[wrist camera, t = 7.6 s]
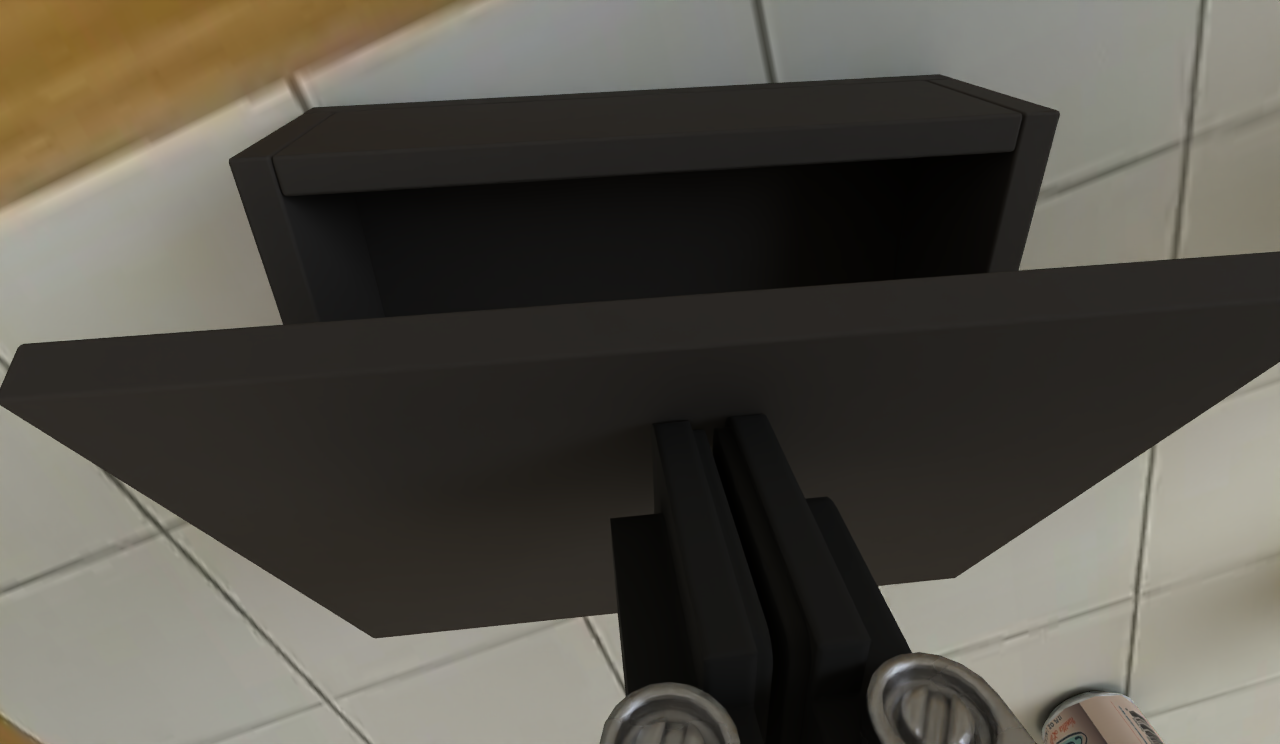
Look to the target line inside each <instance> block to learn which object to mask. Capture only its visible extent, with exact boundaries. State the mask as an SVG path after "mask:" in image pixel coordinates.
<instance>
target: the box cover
mask: <svg viewBox="0 0 1280 744" xmlns="http://www.w3.org/2000/svg"><path fill="white" fill-rule="evenodd" d="M1279 362H1280V252H1267V253H1253V254H1240V255H1226V256H1213V257H1199V258H1185V259H1172V260H1158V261H1145V262H1131V263H1117V264H1104V265H1090V266H1077V267H1063V268H1049V269H1036V270H1022V271H1009V272H995V273H981V274H968V275H954V276H941V277H927V278H914V279H900V280H886V281H873V282H859V283H846V284H832V285H818V286H805V287H791V288H778V289H764V290H750V291H737V292H723V293H710V294H696V295H682V296H669V297H655V298H642V299H628V300H614V301H601V302H587V303H574V304H560V305H546V306H533V307H519V308H506V309H492V310H478V311H465V312H451V313H438V314H424V315H410V316H397V317H383V318H370V319H356V320H342V321H329V322H315V323H302V324H288V325H275V326H261V327H247V328H234V329H220V330H207V331H193V332H179V333H166V334H152V335H139V336H125V337H111V338H98V339H84V340H71V341H57V342H43V343H30V344H23V345H20V346H19V347H18V349H17V351H16V353H15V355H14V358H13V360H12V362H11V365H10V367H9V369H8V372H7V374H6V376H5V378H4V381H3V383H2V385H1V388H0V405H1V406H2V407H4V408H6V409H7V410H9V411H11V412H12V413H14V414H15V415H17V416H19V417H20V418H22V419H23V420H25V421H27V422H28V423H30V424H31V425H33V426H35V427H36V428H38V429H39V430H41V431H43V432H44V433H46V434H47V435H49V436H51V437H52V438H54V439H55V440H57V441H59V442H60V443H62V444H63V445H65V446H67V447H68V448H70V449H71V450H73V451H75V452H76V453H78V454H79V455H81V456H83V457H84V458H86V459H87V460H89V461H91V462H92V463H94V464H96V465H97V466H99V467H100V468H102V469H104V470H105V471H107V472H108V473H110V474H112V475H113V476H115V477H116V478H118V479H120V480H121V481H123V482H124V483H126V484H128V485H129V486H131V487H132V488H134V489H136V490H137V491H139V492H140V493H142V494H144V495H145V496H147V497H148V498H150V499H152V500H153V501H155V502H156V503H158V504H160V505H161V506H163V507H164V508H166V509H168V510H169V511H171V512H172V513H174V514H176V515H177V516H179V517H180V518H182V519H184V520H185V521H187V522H189V523H190V524H192V525H193V526H195V527H197V528H198V529H200V530H201V531H203V532H205V533H206V534H208V535H209V536H211V537H213V538H214V539H216V540H217V541H219V542H221V543H222V544H224V545H225V546H227V547H229V548H230V549H232V550H233V551H235V552H237V553H238V554H240V555H241V556H243V557H245V558H246V559H248V560H249V561H251V562H253V563H254V564H256V565H257V566H259V567H261V568H262V569H264V570H265V571H267V572H269V573H270V574H272V575H273V576H275V577H277V578H278V579H280V580H282V581H283V582H285V583H286V584H288V585H290V586H291V587H293V588H294V589H296V590H298V591H299V592H301V593H302V594H304V595H306V596H307V597H309V598H310V599H312V600H314V601H315V602H317V603H318V604H320V605H322V606H323V607H325V608H326V609H328V610H330V611H331V612H333V613H334V614H336V615H338V616H339V617H341V618H342V619H344V620H346V621H347V622H349V623H350V624H352V625H354V626H355V627H357V628H358V629H360V630H362V631H363V632H365V633H367V634H368V635H370V636H371V637H373V638H383V637H393V636H402V635H412V634H421V633H431V632H441V631H450V630H460V629H469V628H479V627H489V626H498V625H508V624H517V623H527V622H536V621H546V620H556V619H565V618H575V617H584V616H594V615H604V614H613V613H618V610H617V599H616V588H615V577H614V565H613V553H612V540H611V527H610V518H619V517H629V516H639V515H649V514H654V489H653V459H652V424H659V423H670V422H681V421H689V422H690V425H691V428H692V430H700V429H704V430H705V432H706V435H707V438H708V442H709V445H710V448H711V451H712V454H713V432H714V429H715V428H722V427H725V424H726V420H727V418H728V417H736V416H746V415H757V414H764V415H766V416H767V418H768V420H769V422H770V424H771V426H772V428H773V431H774V433H775V435H776V437H777V439H778V441H779V444H780V446H781V448H782V450H783V452H784V454H785V456H786V459H787V461H788V463H789V465H790V467H791V469H792V471H793V474H794V476H795V478H796V480H797V482H798V484H799V486H800V489H801V491H802V493H803V495H804V497H805V499H807V498H816V497H826V496H827V497H829V498H830V499H831V500H832V501H833V502H834V504H835V505H836V507H837V509H838V511H839V512H840V514H841V516H842V518H843V520H844V522H845V524H846V526H847V528H848V530H849V532H850V534H851V536H852V538H853V540H854V542H855V543H856V545H857V547H858V549H859V551H860V553H861V555H862V557H863V559H864V561H865V563H866V565H867V567H868V569H869V571H870V573H871V574H872V576H873V578H874V580H875V582H876V584H877V586H882V585H891V584H901V583H910V582H920V581H930V580H939V579H949V578H955V577H957V576H958V575H960V574H961V573H963V572H964V571H966V570H968V569H969V568H971V567H972V566H974V565H975V564H977V563H978V562H980V561H981V560H983V559H984V558H986V557H987V556H989V555H990V554H992V553H993V552H995V551H996V550H998V549H999V548H1001V547H1002V546H1004V545H1005V544H1007V543H1008V542H1010V541H1011V540H1013V539H1014V538H1016V537H1017V536H1019V535H1020V534H1022V533H1023V532H1025V531H1026V530H1028V529H1029V528H1031V527H1032V526H1034V525H1035V524H1037V523H1038V522H1040V521H1041V520H1043V519H1044V518H1046V517H1047V516H1049V515H1050V514H1052V513H1053V512H1055V511H1056V510H1058V509H1059V508H1061V507H1062V506H1064V505H1065V504H1067V503H1068V502H1070V501H1071V500H1073V499H1074V498H1076V497H1077V496H1079V495H1080V494H1082V493H1083V492H1085V491H1086V490H1088V489H1089V488H1091V487H1092V486H1094V485H1095V484H1097V483H1098V482H1100V481H1101V480H1103V479H1104V478H1106V477H1107V476H1109V475H1110V474H1112V473H1113V472H1115V471H1116V470H1118V469H1119V468H1121V467H1122V466H1124V465H1125V464H1127V463H1128V462H1130V461H1131V460H1133V459H1134V458H1136V457H1137V456H1139V455H1140V454H1142V453H1143V452H1145V451H1146V450H1148V449H1149V448H1151V447H1152V446H1154V445H1155V444H1157V443H1158V442H1160V441H1161V440H1163V439H1164V438H1166V437H1167V436H1169V435H1170V434H1172V433H1173V432H1175V431H1176V430H1178V429H1180V428H1181V427H1183V426H1184V425H1186V424H1187V423H1189V422H1190V421H1192V420H1193V419H1195V418H1196V417H1198V416H1199V415H1201V414H1202V413H1204V412H1205V411H1207V410H1208V409H1210V408H1211V407H1213V406H1214V405H1216V404H1217V403H1219V402H1220V401H1222V400H1223V399H1225V398H1226V397H1228V396H1229V395H1231V394H1232V393H1234V392H1235V391H1237V390H1238V389H1240V388H1241V387H1243V386H1244V385H1246V384H1247V383H1249V382H1250V381H1252V380H1253V379H1255V378H1256V377H1258V376H1259V375H1261V374H1262V373H1264V372H1265V371H1267V370H1268V369H1270V368H1271V367H1273V366H1274V365H1276V364H1277V363H1279Z"/></svg>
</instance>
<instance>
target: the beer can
mask: <svg viewBox="0 0 1280 744" xmlns="http://www.w3.org/2000/svg"><path fill="white" fill-rule="evenodd" d="M1042 739H1043V741H1044V743H1045V744H1165V743H1164V741H1163V740H1162V739H1161V737H1160V736H1159V735H1158V733H1157V732H1156V731H1155V730H1154V728H1153V727H1152V726H1151V724H1150V723H1149V722H1148V720H1147V719H1146V718H1145V717H1144V715H1143V714H1142V713H1141V711H1140V710H1139V709H1138V707H1137V706H1136V705H1135V703H1134V702H1133V701H1132V699H1130V698H1129V697H1127V696H1125V695H1123V694H1120V693H1107V692H1102V691H1094V692H1088V693H1083V694H1080V695H1076V696H1074V697H1072V698H1070V699H1068V700H1066V701H1064V702H1063V703H1061V704H1060V705H1058V706H1057V707H1056V708H1055V709H1054V710H1053V711H1052V712H1051V714H1050V715H1049V717H1048V719H1047V721H1046V722H1045V724H1044V726H1043V729H1042Z"/></svg>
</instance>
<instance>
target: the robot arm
mask: <svg viewBox="0 0 1280 744" xmlns="http://www.w3.org/2000/svg"><path fill="white" fill-rule="evenodd" d="M652 459H653V489H654V514H649V515H639V516H629V517H619V518H610V527H611V540H612V553H613V565H614V577H615V588H616V599H617V610H618V620H619V630H620V640H621V651H622V661H623V671H624V681H625V692H626V698H625V699H623V700H622V701H621V702H620V703H619V704H618V705H616V706H615V708H614V710H613V711H612V713H611V714H610V716H609V718H608V719H607V721H606V722H605V724H604V728H603V732H602V736H601V740H600V744H1036V742H1035V741H1034V740H1033V738H1032V737H1031V736H1030V735H1029V733H1028V732H1027V731H1026V729H1025V728H1024V727H1023V726H1022V724H1021V723H1020V722H1019V720H1018V719H1017V718H1016V717H1015V715H1014V714H1013V713H1012V711H1011V710H1010V709H1009V708H1008V706H1007V705H1006V704H1005V702H1004V701H1003V700H1002V699H1001V697H1000V696H999V695H998V694H997V693H996V692H995V691H994V690H993V689H992V688H991V686H990V685H989V684H988V683H987V682H986V681H985V680H984V679H983V678H982V677H980V676H979V675H977V674H976V673H974V672H973V671H971V670H970V669H968V668H967V667H965V666H964V665H962V664H960V663H958V662H955V661H952V660H950V659H947V658H945V657H942V656H939V655H933V654H926V653H920V652H918V653H912V652H911V650H910V648H909V646H908V644H907V642H906V640H905V638H904V636H903V635H902V633H901V631H900V629H899V627H898V625H897V623H896V621H895V619H894V617H893V615H892V613H891V611H890V609H889V607H888V605H887V604H886V602H885V600H884V598H883V596H882V594H881V592H880V590H879V588H878V586H877V584H876V582H875V580H874V578H873V576H872V574H871V573H870V571H869V569H868V567H867V565H866V563H865V561H864V559H863V557H862V555H861V553H860V551H859V549H858V547H857V545H856V543H855V542H854V540H853V538H852V536H851V534H850V532H849V530H848V528H847V526H846V524H845V522H844V520H843V518H842V516H841V514H840V512H839V511H838V509H837V507H836V505H835V504H834V502H833V501H832V500H831V499H830V498H829V497H827V496H826V497H816V498H807V499H805V497H804V495H803V493H802V491H801V489H800V486H799V484H798V482H797V480H796V478H795V476H794V474H793V471H792V469H791V467H790V465H789V463H788V461H787V459H786V456H785V454H784V452H783V450H782V448H781V446H780V444H779V441H778V439H777V437H776V435H775V433H774V431H773V428H772V426H771V424H770V422H769V420H768V418H767V416H766V415H764V414H757V415H746V416H736V417H728V418H727V420H726V424H725V427H722V428H715V429H714V432H713V454H712V451H711V448H710V445H709V442H708V438H707V435H706V432H705V430H704V429H700V430H692V428H691V425H690V422H689V421H681V422H670V423H659V424H652Z"/></svg>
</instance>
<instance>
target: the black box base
mask: <svg viewBox="0 0 1280 744" xmlns="http://www.w3.org/2000/svg"><path fill="white" fill-rule="evenodd" d="M1059 116H1060V112H1059V111H1057V110H1054V109H1050V108H1047V107H1044V106H1041V105H1037V104H1034V103H1031V102H1028V101H1024V100H1021V99H1018V98H1014V97H1011V96H1008V95H1005V94H1001V93H998V92H995V91H992V90H988V89H985V88H982V87H979V86H975V85H972V84H969V83H966V82H962V81H959V80H956V79H952V78H950V77H946V76H943V75H940V74H939V75H920V76H901V77H883V78H864V79H845V80H826V81H807V82H788V83H769V84H751V85H732V86H713V87H694V88H675V89H656V90H637V91H619V92H600V93H581V94H562V95H543V96H524V97H506V98H487V99H468V100H449V101H430V102H411V103H392V104H374V105H355V106H336V107H317V108H312V109H310V110H309V111H307V112H305V113H304V114H303V115H301V116H299V117H298V118H296V119H294V120H293V121H291V122H289V123H288V124H286V125H284V126H283V127H281V128H279V129H278V130H276V131H275V132H273V133H271V134H270V135H268V136H266V137H265V138H263V139H261V140H260V141H258V142H257V143H255V144H253V145H252V146H250V147H248V148H247V149H245V150H243V151H242V152H240V153H238V154H237V155H235V156H234V157H232V158H230V159H229V164H230V167H231V170H232V173H233V176H234V179H235V182H236V185H237V188H238V191H239V194H240V197H241V200H242V203H243V206H244V209H245V212H246V215H247V218H248V221H249V224H250V227H251V230H252V233H253V236H254V239H255V242H256V245H257V248H258V251H259V254H260V257H261V260H262V263H263V266H264V269H265V272H266V274H267V277H268V280H269V283H270V286H271V289H272V292H273V295H274V298H275V301H276V304H277V307H278V310H279V313H280V316H281V319H282V322H283V325H288V324H302V323H315V322H329V321H342V320H356V319H370V318H383V317H397V316H410V315H424V314H438V313H451V312H465V311H478V310H492V309H506V308H519V307H533V306H546V305H560V304H574V303H587V302H601V301H614V300H628V299H642V298H655V297H669V296H682V295H696V294H710V293H723V292H737V291H750V290H764V289H778V288H791V287H805V286H818V285H832V284H846V283H859V282H873V281H886V280H900V279H914V278H927V277H941V276H954V275H968V274H981V273H995V272H1009V271H1018V270H1019V266H1020V262H1021V258H1022V255H1023V251H1024V247H1025V243H1026V240H1027V236H1028V232H1029V228H1030V225H1031V221H1032V217H1033V213H1034V210H1035V206H1036V202H1037V198H1038V195H1039V191H1040V187H1041V183H1042V180H1043V176H1044V172H1045V168H1046V164H1047V161H1048V157H1049V153H1050V149H1051V146H1052V142H1053V138H1054V134H1055V131H1056V127H1057V123H1058V119H1059Z"/></svg>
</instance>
